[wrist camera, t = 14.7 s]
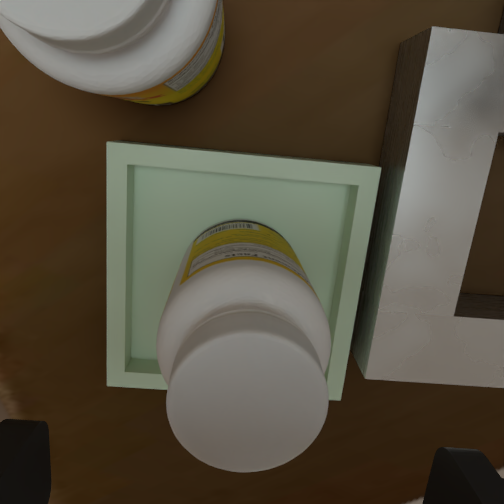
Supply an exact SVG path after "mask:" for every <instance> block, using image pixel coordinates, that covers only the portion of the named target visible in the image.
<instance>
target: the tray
mask: <svg viewBox="0 0 504 504" xmlns="http://www.w3.org/2000/svg"><path fill="white" fill-rule="evenodd" d="M380 173H381V167H378V166H374V165H371V164H364V163H353V162H343V161H332V160H322V159H311V158H300V157H290V156H279V155H269V154H258V153H247V152H237V151H226V150H216V149H205V148H195V147H184V146H173V145H163V144H152V143H142V142H131V141H120V140H118V141H108V142H107V386H114V387H130V388H146V389H162V390H168V385H167V383H166V382H165V380H164V378H163V376H162V373H161V370H160V367H159V364H158V359H157V349H156V341H157V332H158V327H159V323H160V319H161V316H162V314H163V311H164V308H165V305H166V302H167V300H168V297H169V294H170V291H171V288H172V286H173V283H174V280H175V278H176V275H177V272H178V270H179V267H180V264H181V262H182V259H183V257H184V255H185V253H186V251H187V249H188V247H189V246H190V244H191V243H192V242H193V240H194V239H195V238H196V237H197V236H198V235H199V234H200V233H201V232H203V231H204V230H205V229H207V228H208V227H210V226H212V225H214V224H217V223H219V222H222V221H226V220H231V219H249V220H254V221H258V222H261V223H263V224H265V225H267V226H269V227H271V228H273V229H274V230H276V231H277V232H278V233H280V234H281V235H282V236H283V237H284V238H285V239H286V241H287V242H288V243H289V244H290V246H291V247H292V249H293V251H294V252H295V254H296V256H297V258H298V259H299V262H300V263H301V265H302V267H303V269H304V271H305V273H306V275H307V277H308V279H309V281H310V283H311V285H312V287H313V289H314V290H315V292H316V294H317V296H318V298H319V300H320V302H321V304H322V307H323V309H324V312H325V315H326V317H327V320H328V324H329V328H330V335H331V351H330V357H329V362H328V366H327V368H326V371H325V374H324V376H325V379H326V382H327V386H328V394H329V400H339V401H341V395H342V390H343V384H344V378H345V373H346V367H347V361H348V356H349V350H350V344H351V338H352V333H353V327H354V321H355V316H356V310H357V304H358V299H359V293H360V287H361V281H362V276H363V270H364V264H365V259H366V253H367V247H368V242H369V236H370V230H371V224H372V219H373V213H374V207H375V202H376V196H377V190H378V185H379V179H380Z"/></svg>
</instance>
